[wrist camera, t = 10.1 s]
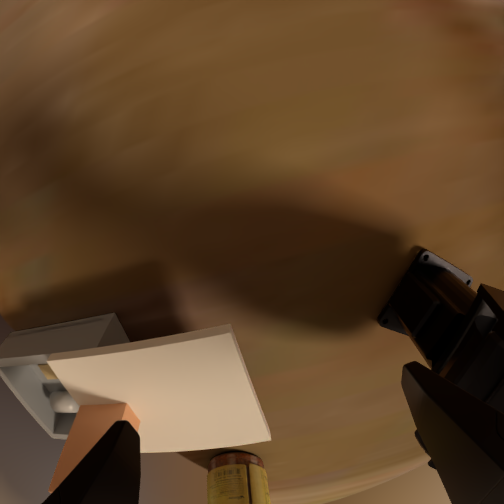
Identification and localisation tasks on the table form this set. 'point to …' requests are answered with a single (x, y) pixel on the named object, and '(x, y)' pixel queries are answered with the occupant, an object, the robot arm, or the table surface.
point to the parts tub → (40, 373)
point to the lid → (161, 394)
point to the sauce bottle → (237, 480)
